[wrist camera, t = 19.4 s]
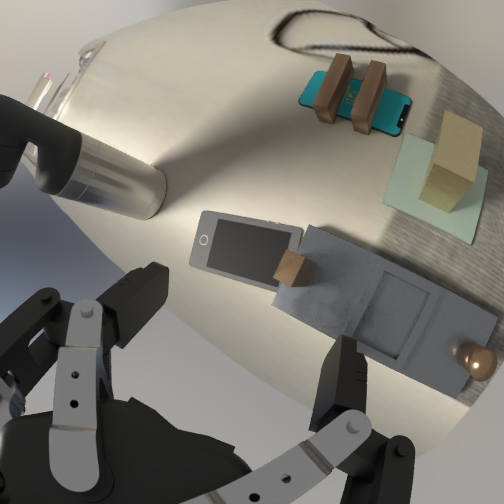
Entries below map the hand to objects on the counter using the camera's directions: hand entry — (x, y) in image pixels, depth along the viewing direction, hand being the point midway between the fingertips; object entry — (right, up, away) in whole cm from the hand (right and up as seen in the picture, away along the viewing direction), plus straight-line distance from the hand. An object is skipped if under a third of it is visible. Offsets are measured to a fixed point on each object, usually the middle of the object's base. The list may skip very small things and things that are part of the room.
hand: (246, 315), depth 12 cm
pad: (+22, +10, +15) cm, 29 cm away
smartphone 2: (+14, +23, +20) cm, 34 cm away
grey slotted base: (+15, -4, +16) cm, 22 cm away
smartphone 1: (-1, +3, +25) cm, 25 cm away
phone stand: (+14, +23, +20) cm, 34 cm away
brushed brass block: (+22, +11, +14) cm, 28 cm away
